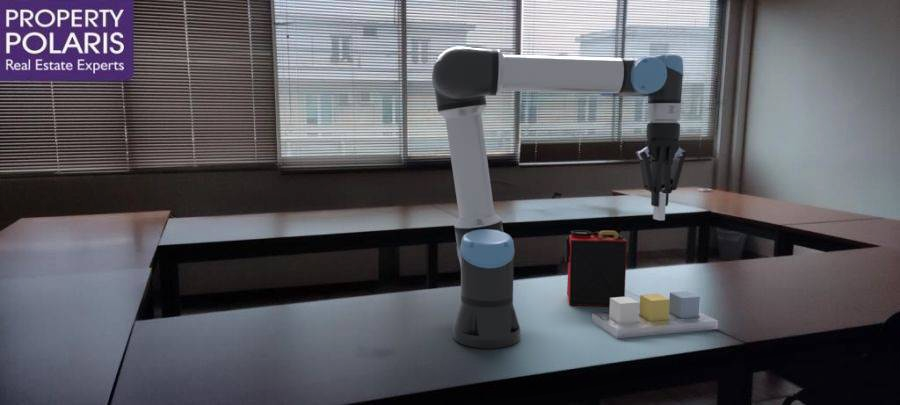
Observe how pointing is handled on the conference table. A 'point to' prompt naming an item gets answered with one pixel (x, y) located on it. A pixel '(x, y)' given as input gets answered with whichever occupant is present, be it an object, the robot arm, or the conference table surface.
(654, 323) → the key panel
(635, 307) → the ivory key
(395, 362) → the conference table surface
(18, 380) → the conference table surface
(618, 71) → the robot arm
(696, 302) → the slate key
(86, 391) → the conference table surface
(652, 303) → the mustard key
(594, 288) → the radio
